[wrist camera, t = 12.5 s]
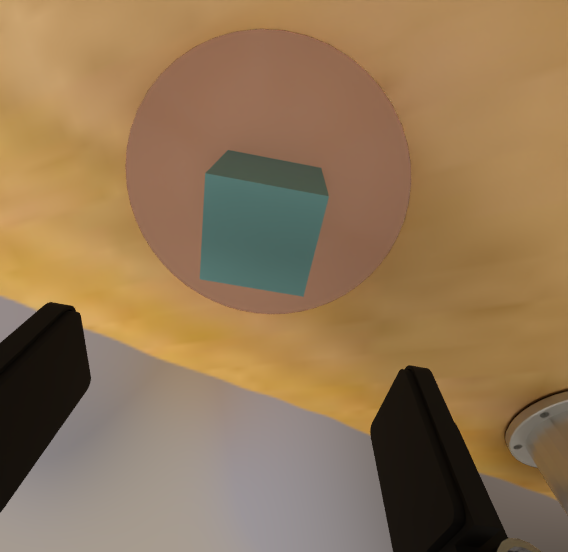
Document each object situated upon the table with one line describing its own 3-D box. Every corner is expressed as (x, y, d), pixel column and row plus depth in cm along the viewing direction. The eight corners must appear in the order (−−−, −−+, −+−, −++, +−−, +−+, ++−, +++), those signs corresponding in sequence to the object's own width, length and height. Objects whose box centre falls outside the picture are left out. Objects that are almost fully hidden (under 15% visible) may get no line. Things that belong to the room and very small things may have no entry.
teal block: (321, 167, 21) (329, 196, 16) (302, 250, 24) (303, 296, 19) (228, 149, 21) (205, 173, 15) (220, 235, 24) (199, 279, 19)
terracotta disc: (466, 171, 22) (474, 175, 21) (293, 339, 30) (293, 348, 29) (224, -62, 16) (219, -71, 15) (93, 220, 25) (84, 226, 24)
